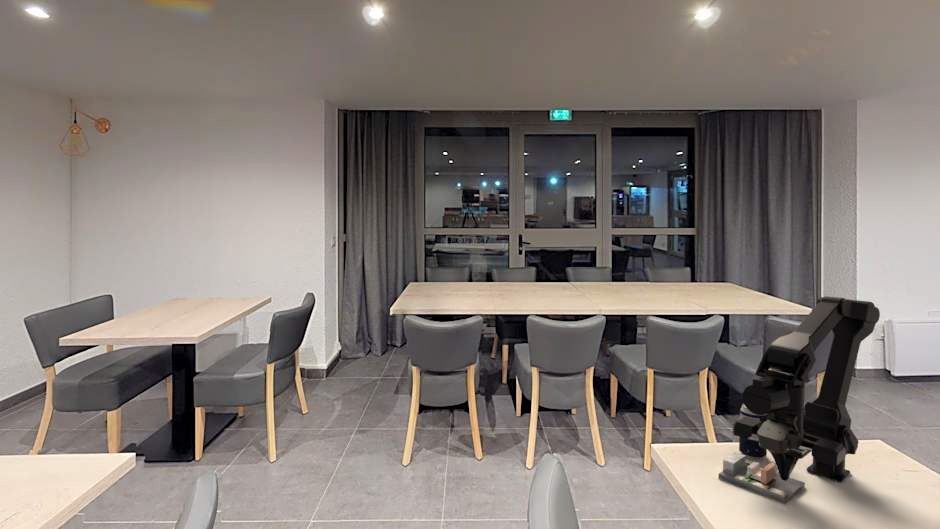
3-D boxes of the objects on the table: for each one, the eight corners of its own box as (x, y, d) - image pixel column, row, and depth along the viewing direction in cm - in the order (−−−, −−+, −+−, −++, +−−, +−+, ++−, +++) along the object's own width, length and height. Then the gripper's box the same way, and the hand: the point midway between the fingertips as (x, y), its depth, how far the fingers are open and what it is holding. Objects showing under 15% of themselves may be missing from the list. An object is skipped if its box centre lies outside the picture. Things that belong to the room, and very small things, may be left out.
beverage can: (770, 462, 112) (771, 411, 112) (743, 460, 114) (745, 410, 113) (761, 451, 118) (762, 402, 117) (735, 449, 119) (736, 401, 118)
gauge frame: (739, 464, 111) (739, 449, 111) (804, 487, 101) (805, 471, 101) (718, 478, 105) (718, 462, 105) (785, 504, 95) (786, 487, 95)
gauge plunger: (755, 469, 106) (755, 457, 106) (775, 476, 103) (776, 464, 103) (741, 479, 102) (741, 467, 102) (762, 487, 99) (762, 474, 99)
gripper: (721, 402, 101) (719, 474, 102) (828, 430, 86) (825, 514, 87) (745, 390, 108) (743, 458, 109) (848, 415, 93) (844, 493, 94)
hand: (784, 479), depth 100 cm, fingers closed
